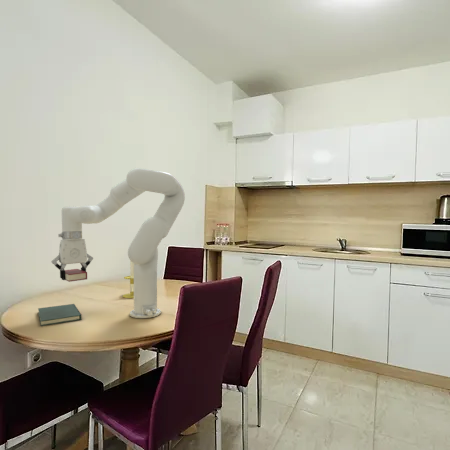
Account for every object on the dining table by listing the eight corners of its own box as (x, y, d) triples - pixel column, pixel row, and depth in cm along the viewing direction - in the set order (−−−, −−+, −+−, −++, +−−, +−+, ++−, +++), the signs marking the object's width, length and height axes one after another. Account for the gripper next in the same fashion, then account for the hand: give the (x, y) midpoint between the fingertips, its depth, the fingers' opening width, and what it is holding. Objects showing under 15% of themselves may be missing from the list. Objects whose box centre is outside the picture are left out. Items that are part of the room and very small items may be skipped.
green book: (81, 319, 128) (81, 314, 128) (40, 326, 120) (40, 320, 120) (74, 308, 145) (74, 303, 145) (38, 313, 137) (38, 308, 137)
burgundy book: (87, 279, 132) (87, 272, 132) (69, 281, 128) (68, 274, 128) (77, 275, 142) (77, 268, 142) (60, 277, 138) (59, 270, 137)
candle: (118, 296, 167) (118, 244, 166) (133, 292, 175) (133, 243, 174) (131, 299, 161) (131, 245, 161) (146, 295, 169) (146, 244, 169)
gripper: (51, 237, 126) (52, 282, 126) (96, 235, 138) (97, 276, 138) (46, 236, 132) (48, 280, 132) (90, 234, 143) (91, 274, 144)
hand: (73, 278), depth 135 cm, fingers closed on burgundy book, 7 cm apart
